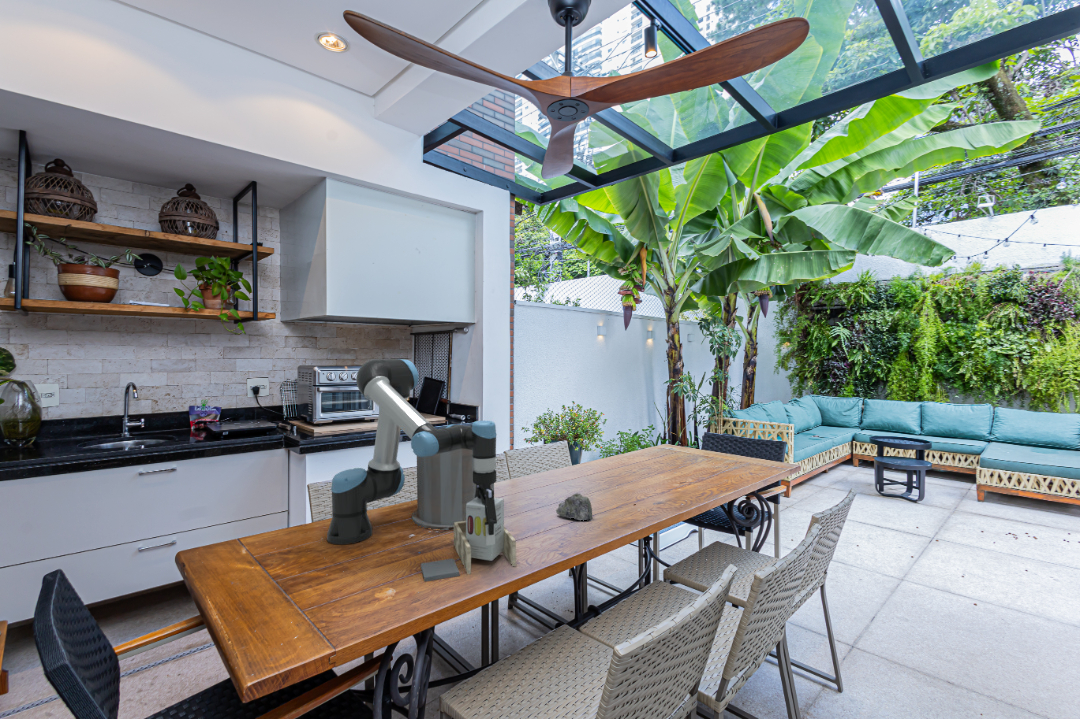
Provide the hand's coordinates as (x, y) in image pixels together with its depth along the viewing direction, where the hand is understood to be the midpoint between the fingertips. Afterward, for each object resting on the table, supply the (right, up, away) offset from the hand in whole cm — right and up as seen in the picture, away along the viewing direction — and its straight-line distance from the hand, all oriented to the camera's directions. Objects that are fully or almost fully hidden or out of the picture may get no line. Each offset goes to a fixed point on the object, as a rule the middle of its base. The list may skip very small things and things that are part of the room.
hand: (485, 536), depth 154 cm
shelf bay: (-1, -7, +3) cm, 8 cm away
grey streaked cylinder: (-16, -7, +42) cm, 46 cm away
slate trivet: (-13, -7, -8) cm, 17 cm away
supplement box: (0, -5, 0) cm, 5 cm away
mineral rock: (+31, -6, +38) cm, 50 cm away
